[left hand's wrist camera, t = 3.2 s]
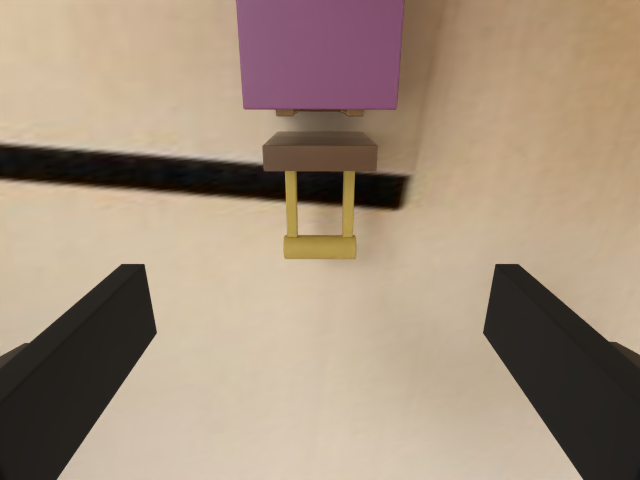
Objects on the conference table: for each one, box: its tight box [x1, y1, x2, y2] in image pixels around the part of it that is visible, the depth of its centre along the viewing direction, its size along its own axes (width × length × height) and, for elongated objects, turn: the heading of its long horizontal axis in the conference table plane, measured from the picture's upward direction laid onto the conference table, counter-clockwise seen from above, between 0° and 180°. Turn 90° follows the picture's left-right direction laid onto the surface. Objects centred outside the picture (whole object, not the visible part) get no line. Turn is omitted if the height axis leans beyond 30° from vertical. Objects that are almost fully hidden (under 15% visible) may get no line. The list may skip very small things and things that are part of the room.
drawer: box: [263, 109, 378, 259], centre depth 19 cm, size 21×5×7 cm, turn 0°
